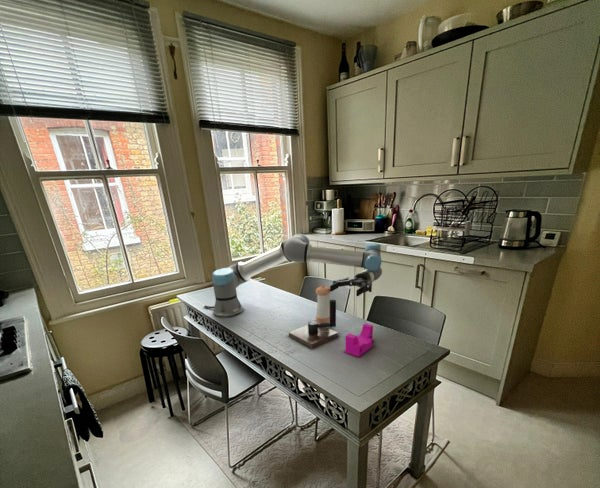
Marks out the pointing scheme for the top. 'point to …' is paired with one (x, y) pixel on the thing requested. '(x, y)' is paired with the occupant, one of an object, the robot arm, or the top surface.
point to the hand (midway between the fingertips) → (343, 291)
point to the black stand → (315, 325)
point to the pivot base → (313, 336)
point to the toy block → (360, 341)
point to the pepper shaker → (323, 305)
